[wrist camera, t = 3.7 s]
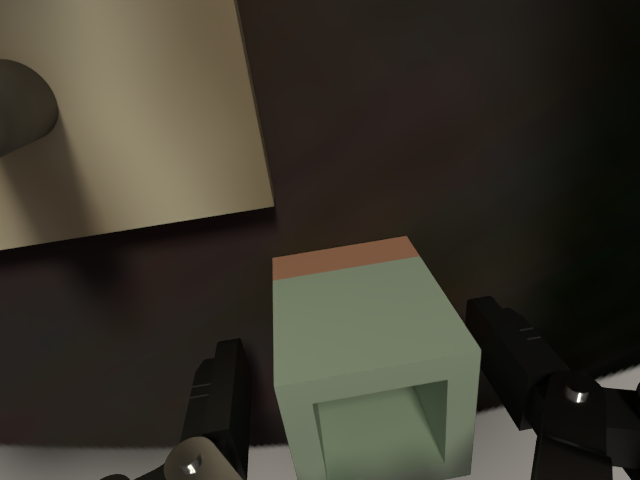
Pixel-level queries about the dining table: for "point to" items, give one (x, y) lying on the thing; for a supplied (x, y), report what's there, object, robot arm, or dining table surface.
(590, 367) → the dining table surface
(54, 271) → the dining table surface
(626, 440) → the robot arm
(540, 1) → the dining table surface
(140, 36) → the pin board
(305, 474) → the sage sleeve
